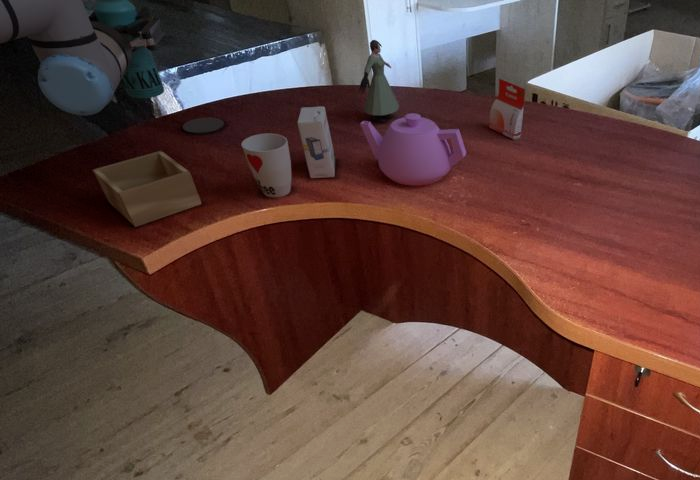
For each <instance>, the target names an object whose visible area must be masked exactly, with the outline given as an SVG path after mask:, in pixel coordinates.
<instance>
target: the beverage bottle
mask: <svg viewBox="0 0 700 480" xmlns="http://www.w3.org/2000/svg"><path fill="white" fill-rule="evenodd" d="M92 10H93V11H92V12H95V14H96V17H97V19H98V22H100V23H103V24H106V25H108V26H110V27H111V28H113V27H115V26H117V25H128V24H130V23H132V22H134V21H136V20H138V19H137V17H136V16H137V15H138V12H137V11H136V6H135V5H134V4H133V3H132V2H131V1H129V0H96V1H95V3H94V4H93V6H92ZM121 82H122V83H121V84H122V85H123V88H124V90H125V92H126V93H127V95H128V96H129V97H130V98H133V99H150V98H156V97H159V96H161V95H163V94H164V93H165V86H164V83H163V79H162V77H161V74H160V71H159V68H158V65H157V63H156V62H155V58H154V55H153V52H152V51H150V50H148V48H147V49H144V47H143V46H137V50H136V51H134V52H132V55H131V62H130V65H129V67H128V69H127V71H126V72H125V74H124V75H123V77H122V79H121Z"/></svg>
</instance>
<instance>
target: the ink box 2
mask: <svg viewBox="0 0 700 480" xmlns="http://www.w3.org/2000/svg"><path fill="white" fill-rule="evenodd" d="M508 87H509V88H511V87H512V89H513V90H515V91H516V92H514V91H512V90H510V89H508ZM525 95H526V89H525V88H524V87H521V86H518V85H516V84H513V83H512V82H509V81H506V80H504V79H502V78H498V95H497V97H496V98H495V100H494V101H493V103H492V105H491V107H490V109H489V122H490V123H492V124H494V125H497V126H499V127H501V128H503V129H504V130H507V131H508V132H511V133H513V134H517V133H519V132H521V134H520V135H518V136H512V135H510V134H507V133H505V132H503V131H501V130H499V129H497V128H495V127H493V126H491V125H489V124H488V128H489V129H491V130H493V131H495V132H497V133H499V134H501V135H503V136H505V137H507V138H510V139H511V140H518V139H520V138H521V135H522V127H523V119H524V118H523V117H524V108H525Z"/></svg>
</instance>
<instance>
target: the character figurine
mask: <svg viewBox="0 0 700 480" xmlns="http://www.w3.org/2000/svg"><path fill="white" fill-rule="evenodd" d="M382 47H383V46H382V44H381V43H380V42H379V41H378V40H376V39H372V40H371V41H370V42H369V49H370V52H371V53H370V55H369V56H368V57H367V61H366V64H365V66H364V71H363V77H362V78H361V81H360V84H359V90H358V91H359V92H360V93H361V94H364V93H365V92H366V89H367V88H368V93H367V96H366V100H365V104H364V108H363V110H364V112H365V113H366V114H367V115H371V116H373V121H375V122H378V123H386V120H385V119H384V118H386V119H390V118H392V116H391V114H394V113H395V112H397V111H398V110H399V108H400V105H399V102H398V100H397V98H396V96H395V94H394V91H393V90H392V87H391V85H390V83H389V81H388V79H387V76H386V75H385V66H386V67H388V68H389V69H392V66H391V65H390V63H389V62H386V61H385V60H384V59H383V56H382V55H381V51H382V49H381V48H382ZM371 70H372V76H371V81H370V80H369V76H370V72H371Z"/></svg>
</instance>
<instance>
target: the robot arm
mask: <svg viewBox="0 0 700 480" xmlns="http://www.w3.org/2000/svg"><path fill="white" fill-rule="evenodd" d="M136 17H137V19H138V20H136V21H134V22H132V23H130V24H128V25H117V26H115V27H113V28H111V27H110V26H108V25H106V24H103V23H100V22H98V19H97V17H96V14H95V12H94V11H92V12H91V14H90V15H88V13H87V11H86V8H85V5H84V3H83V0H0V44H4V43H7V42H10V41H13V40H14V41H15V40H19V39H21V38H25V37H27V39H28V41H29V43H30V45H31V47H32V49H33V51H34V53H35V55H36V57H37V59H38V61H39V62H40V64H39V68H38V71H37V83H38V87H39V89H40V91H41V92H42V94H43V95H44V96H45V98H46V99H47V100H48V101H49V102H50V103H51V104H53V105H54V106H55V107H56V108H58V109H60V110H62V111H64V112H66V113H68V114H72V115H75V116H84V117H85V116H86V117H87V116H92V115H96V114H98V113H99V112H102V110H104V108H105V107H106V106H107V105H108V104H110V103H111V101H112V100H113V98H114V94H115V92H116V90H117V88H118V86H119V84H120V82H122V80H121V79H122V77H123V75H124V74H125V72H126V71H127V69H128V67H129V65H130V62H131V55H132V52H134V51H136V50H137V46H143V47H144V49H147V48H148V50H150V51H151V52H154V51H156V50H157V45H158V43H159V42H160V41H161V40H162V38H163V37H165V34H166V32H165V30H164V28H163V24H162V21H161V19H160V17H153V15H151V14H150V11H149V8H148V6H142V7H141V8H140V10H139V12H137V16H136Z"/></svg>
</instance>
